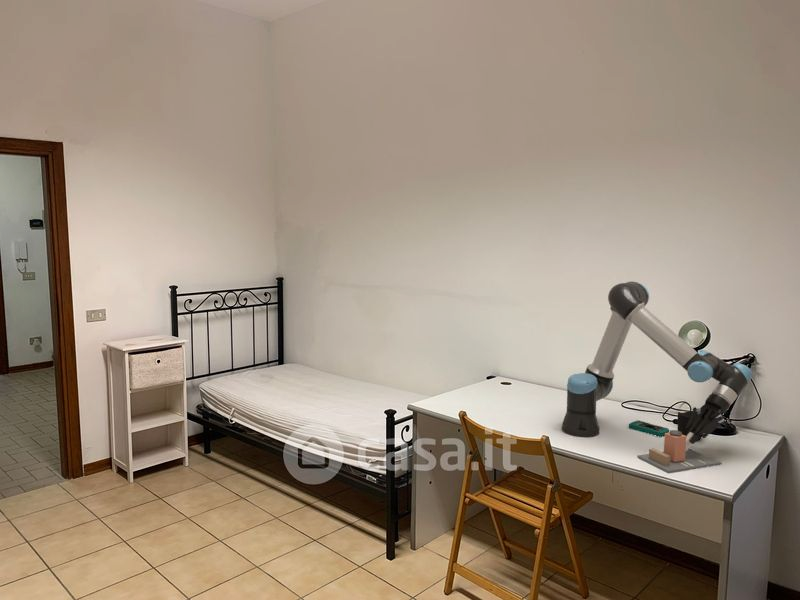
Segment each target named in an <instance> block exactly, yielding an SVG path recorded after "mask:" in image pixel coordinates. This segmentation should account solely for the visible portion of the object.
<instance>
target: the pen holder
mask: <svg viewBox="0 0 800 600" xmlns="http://www.w3.org/2000/svg"><path fill="white" fill-rule="evenodd" d="M692 413H693V410H687V411H684V412H680V411H678V412H677V428H676V429H677V431H680V432H682V435H685V436H686V434H687V433H688V430H687V429H686V425H687V423H688V421H689V419H690V417H691V415H692ZM699 440H700V441H701V440H702V437H700V438H698V439H697V440H696V442H700V441H699Z"/></svg>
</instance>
